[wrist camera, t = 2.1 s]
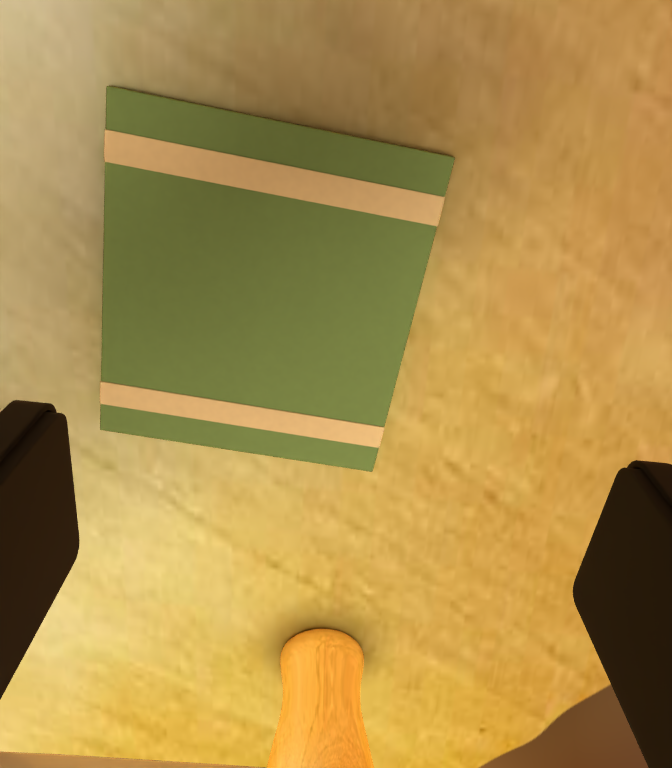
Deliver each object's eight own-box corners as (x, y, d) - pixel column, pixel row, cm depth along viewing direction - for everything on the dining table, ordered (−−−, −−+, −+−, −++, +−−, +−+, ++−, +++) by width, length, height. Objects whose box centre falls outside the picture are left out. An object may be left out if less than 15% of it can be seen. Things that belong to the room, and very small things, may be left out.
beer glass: (289, 614, 42) (269, 863, 29) (383, 634, 43) (406, 885, 30) (263, 678, 45) (235, 932, 32) (352, 696, 46) (360, 949, 33)
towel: (103, 424, 35) (99, 431, 34) (110, 85, 27) (105, 85, 27) (371, 466, 36) (372, 473, 36) (452, 156, 29) (455, 157, 28)
